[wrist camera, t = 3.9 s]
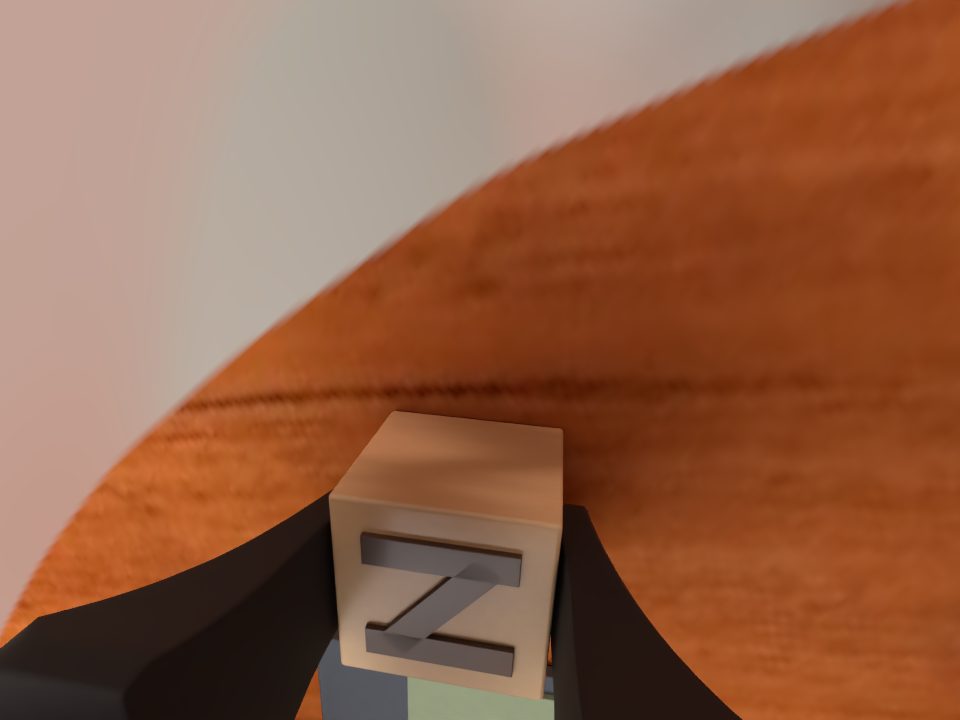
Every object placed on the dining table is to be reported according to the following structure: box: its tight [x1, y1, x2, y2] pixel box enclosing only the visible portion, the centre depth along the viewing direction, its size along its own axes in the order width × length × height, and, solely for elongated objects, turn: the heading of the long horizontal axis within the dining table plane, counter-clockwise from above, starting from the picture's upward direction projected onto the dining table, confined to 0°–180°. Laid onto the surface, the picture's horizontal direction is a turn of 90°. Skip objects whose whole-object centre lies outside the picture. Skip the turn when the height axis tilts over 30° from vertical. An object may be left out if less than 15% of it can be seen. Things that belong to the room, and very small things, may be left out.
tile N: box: [329, 411, 563, 701], centre depth 12 cm, size 5×5×4 cm
